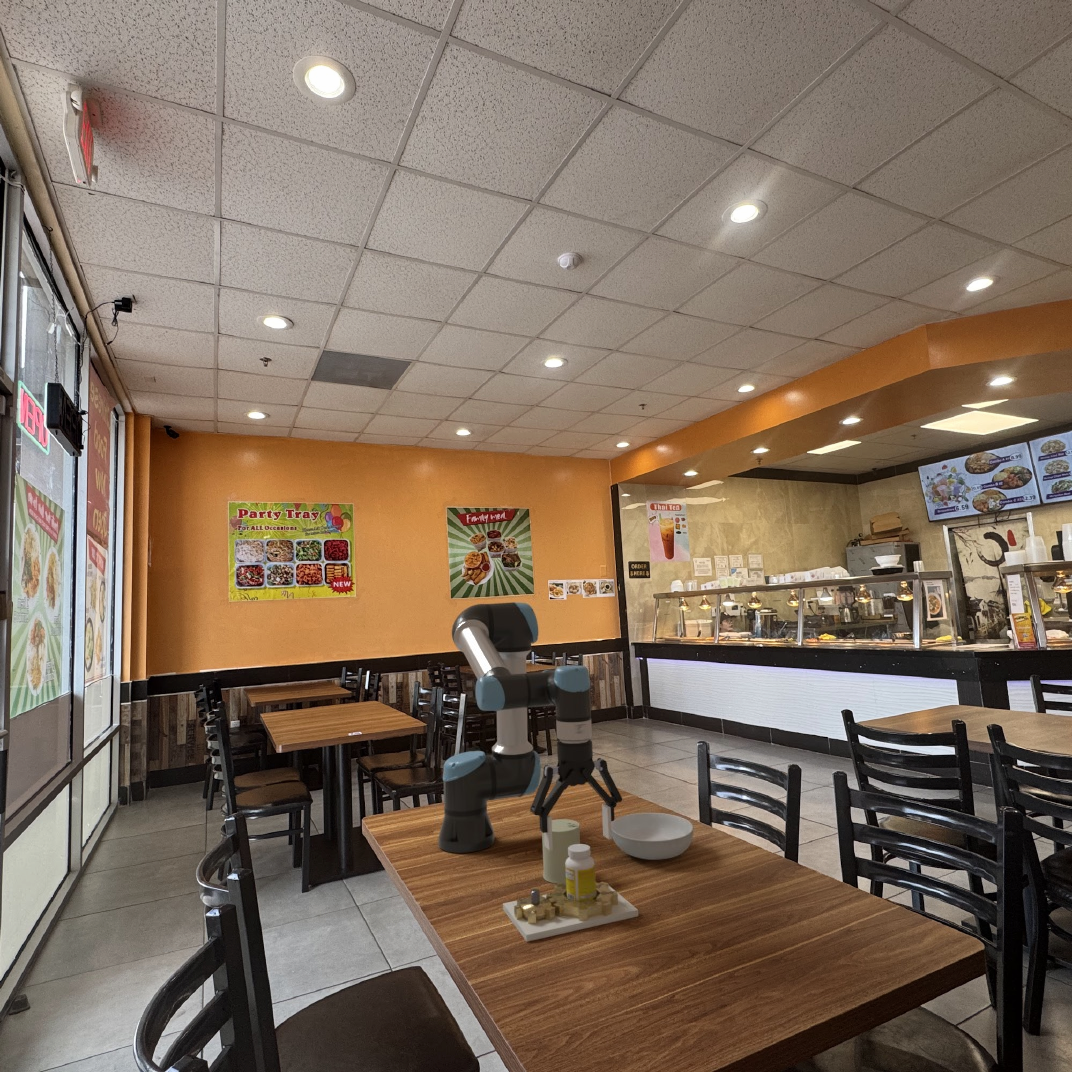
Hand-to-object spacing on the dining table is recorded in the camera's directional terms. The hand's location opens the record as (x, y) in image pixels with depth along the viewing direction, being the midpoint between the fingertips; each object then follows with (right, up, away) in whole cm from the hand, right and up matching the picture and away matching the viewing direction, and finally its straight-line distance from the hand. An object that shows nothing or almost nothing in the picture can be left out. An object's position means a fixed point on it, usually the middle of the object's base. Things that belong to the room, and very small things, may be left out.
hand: (578, 842), depth 140 cm
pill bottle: (+1, -12, -2) cm, 12 cm away
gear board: (-2, -13, -3) cm, 14 cm away
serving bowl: (+21, -16, +28) cm, 38 cm away
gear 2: (+1, -12, -2) cm, 12 cm away
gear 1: (-9, -12, -5) cm, 16 cm away
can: (-3, -15, +16) cm, 22 cm away
